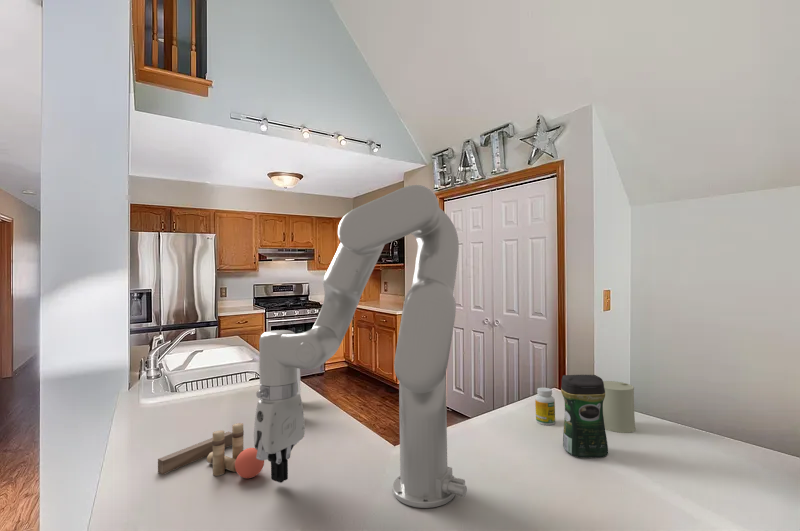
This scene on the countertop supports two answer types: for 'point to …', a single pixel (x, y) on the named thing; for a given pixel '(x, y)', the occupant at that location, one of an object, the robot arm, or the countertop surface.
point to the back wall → (189, 454)
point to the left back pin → (218, 453)
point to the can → (619, 407)
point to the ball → (248, 463)
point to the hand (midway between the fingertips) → (279, 479)
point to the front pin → (228, 462)
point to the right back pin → (237, 439)
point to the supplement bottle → (545, 407)
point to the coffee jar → (584, 416)
